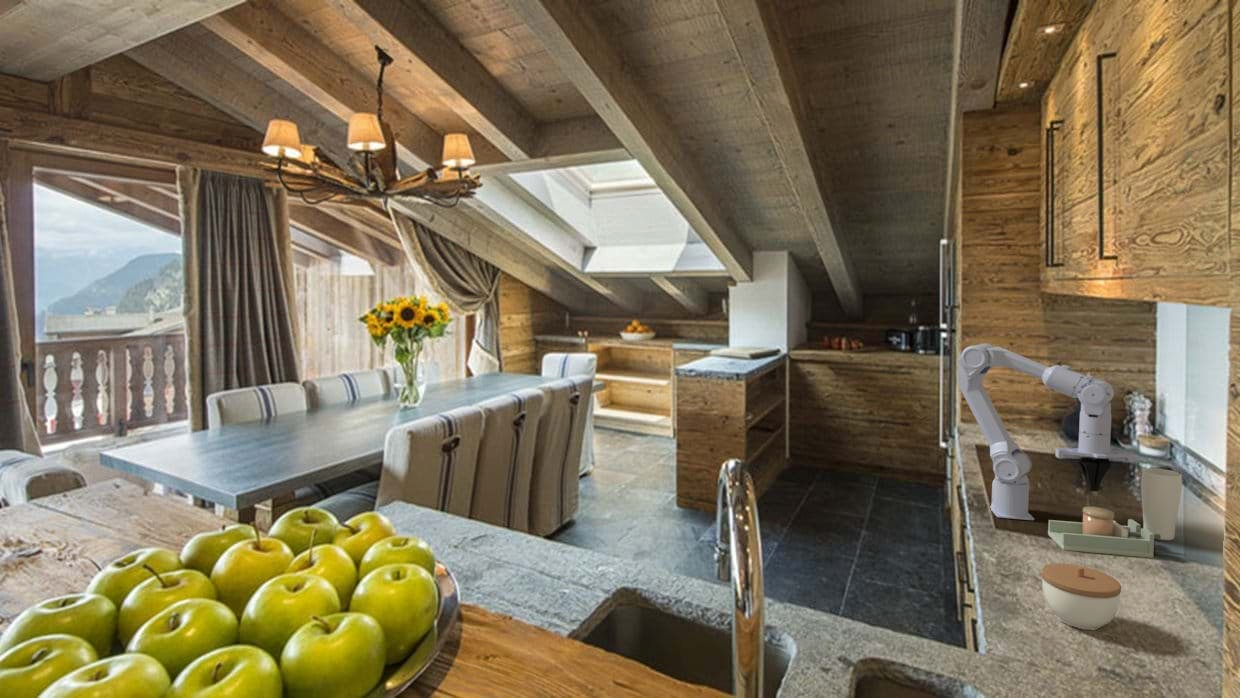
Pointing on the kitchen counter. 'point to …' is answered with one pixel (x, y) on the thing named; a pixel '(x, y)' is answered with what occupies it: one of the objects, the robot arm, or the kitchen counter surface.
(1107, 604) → the lidded jar
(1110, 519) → the jar
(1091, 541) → the pale green shallow tray
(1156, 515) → the drinking glass
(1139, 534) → the pusher
